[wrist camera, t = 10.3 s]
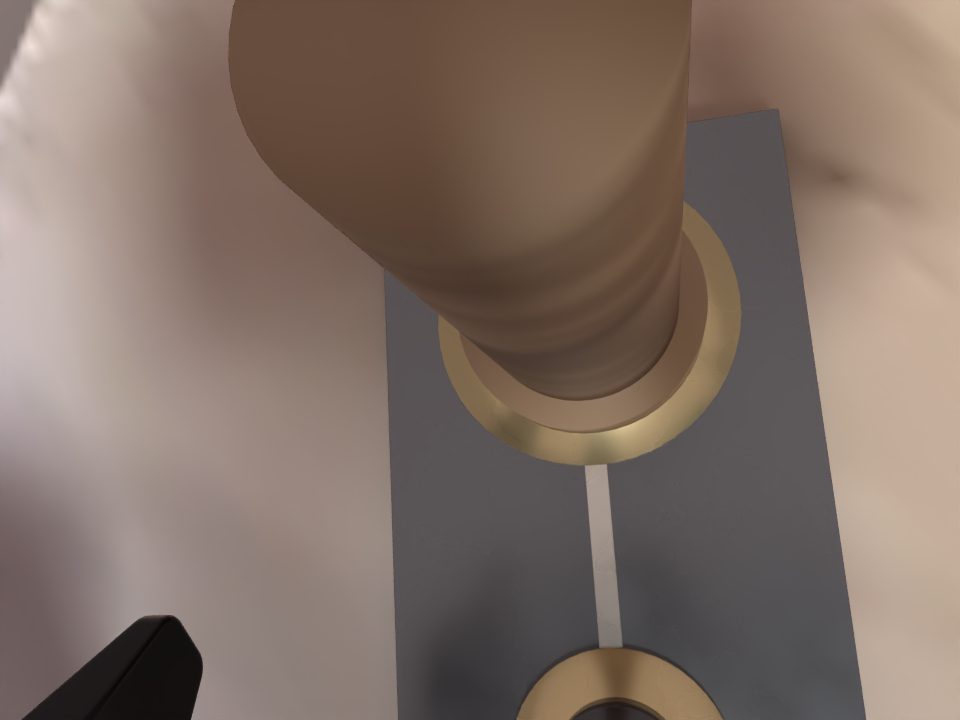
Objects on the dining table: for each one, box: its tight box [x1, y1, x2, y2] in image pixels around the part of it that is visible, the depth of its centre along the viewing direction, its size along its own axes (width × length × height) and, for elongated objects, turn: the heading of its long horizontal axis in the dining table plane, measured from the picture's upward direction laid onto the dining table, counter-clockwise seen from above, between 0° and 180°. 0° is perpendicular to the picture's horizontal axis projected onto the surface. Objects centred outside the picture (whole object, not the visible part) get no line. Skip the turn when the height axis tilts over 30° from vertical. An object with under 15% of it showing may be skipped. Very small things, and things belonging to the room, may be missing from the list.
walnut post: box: [229, 0, 708, 434], centre depth 13 cm, size 6×6×12 cm
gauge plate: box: [384, 109, 866, 720], centre depth 18 cm, size 17×10×2 cm, turn 3°
